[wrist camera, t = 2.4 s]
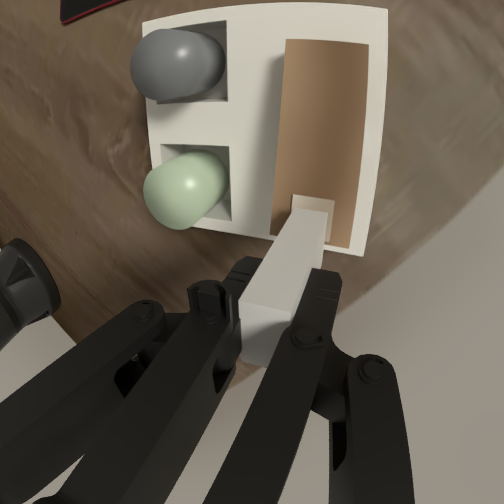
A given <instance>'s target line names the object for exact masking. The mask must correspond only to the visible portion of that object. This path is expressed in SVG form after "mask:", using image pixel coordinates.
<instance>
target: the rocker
mask: <svg viewBox="0 0 504 504" xmlns="http://www.w3.org/2000/svg"><path fill="white" fill-rule="evenodd" d="M368 62H369V44H361V43H352V42H342V41H330V40H313V39H286V43H285V57H284V71H283V84H282V97H281V109H280V122H279V134H278V146H277V158H276V169H275V180H274V192H273V202H272V213H271V224H270V235H274V236H278V234H279V233H280V231H281V229H282V228H283V226H284V224H285V223H286V221H287V219H288V218H289V216H290V214H291V213H292V211H293V209H294V208H302V209H308V210H314V211H321V212H327V213H328V216H327V225H326V234H325V242H324V244H325V245H330V246H336V247H341V248H347V249H349V245H350V239H351V233H352V227H353V221H354V214H355V207H356V200H357V193H358V185H359V177H360V169H361V160H362V151H363V141H364V130H365V117H366V103H367V86H368Z"/></svg>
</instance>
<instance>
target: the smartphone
mask: <svg viewBox="0 0 504 504" xmlns="http://www.w3.org/2000/svg"><path fill="white" fill-rule="evenodd" d="M119 1H122V0H60V21H61V22H62V23H68V22H70V21H72V20H74V19H77V18H79V17H81V16H83V15H86V14H88V13H90V12H93V11H95V10H98V9H100V8H103V7H105V6H108V5H111V4H113V3H116V2H119Z"/></svg>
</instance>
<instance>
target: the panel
mask: <svg viewBox="0 0 504 504" xmlns="http://www.w3.org/2000/svg"><path fill="white" fill-rule="evenodd" d="M142 27H143V37H144V36H146V35H147V34H149V33H150V32H152V31H154V30H158V29H174V30H182V31H189V32H196V33H203V34H207V35H209V36H211V37H213V38H215V39H216V40H217V41H218V42H219V43H220V45H221V46H222V48H223V50H224V53H225V58H226V65H225V70H224V73H223V76H222V78H221V79H220V81H219V82H218V83H217V84H216V85H215V86H214V87H213V88H212V89H210V90H208V91H206V92H204V93H200V94H194V95H189V96H183V97H178V98H173V99H168V100H163V101H156V100H152V99H149V98H147V97H146V110H147V122H148V132H149V142H150V152H151V161H152V169H154V168H156V167H158V166H160V165H161V164H163V163H165V162H167V161H169V160H171V159H173V158H175V157H177V156H179V155H181V154H183V153H185V152H187V151H189V150H192V149H205V150H208V151H210V152H212V153H214V154H215V155H217V156H218V157H219V158H220V159H221V161H222V162H223V163H224V165H225V167H226V169H227V172H228V176H229V187H228V190H227V193H226V195H225V196H224V197H223V199H222V200H220V201H219V202H218V203H217V204H216V205H215V206H214V207H213V208H211V209H210V210H209V211H208V212H207V213H206V214H205V215H204V216H203V217H201V218H200V219H199V220H198V221H197V222H196V223H195V224H194V225H193V226H192V227H198V228H204V229H210V230H216V231H222V232H228V233H234V234H240V235H245V236H251V237H257V238H263V239H268V240H274V241H275V239H276V238H277V236H274V235H270V224H271V213H272V202H273V192H274V180H275V169H276V158H277V146H278V134H279V122H280V109H281V97H282V84H283V71H284V57H285V43H286V39H313V40H330V41H342V42H352V43H361V44H369V62H368V86H367V103H366V117H365V130H364V141H363V151H362V160H361V169H360V177H359V185H358V193H357V200H356V207H355V214H354V221H353V227H352V233H351V239H350V245H349V249H347V248H341V247H336V246H330V245H325V244H324V249H325V250H330V251H335V252H341V253H346V254H352V255H357V256H363V254H364V250H365V245H366V239H367V234H368V229H369V223H370V218H371V212H372V206H373V200H374V194H375V187H376V180H377V173H378V166H379V158H380V150H381V141H382V131H383V121H384V109H385V96H386V80H387V55H388V9H383V8H376V7H368V6H359V5H348V4H334V3H305V2H291V3H263V4H249V5H238V6H228V7H220V8H213V9H206V10H200V11H194V12H188V13H183V14H178V15H173V16H168V17H164V18H159V19H155V20H151V21H147V22H143V23H142Z"/></svg>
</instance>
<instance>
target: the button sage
mask: <svg viewBox="0 0 504 504" xmlns="http://www.w3.org/2000/svg"><path fill="white" fill-rule="evenodd" d="M228 187H229V176H228V172H227V169H226V167H225V165H224V163H223V162H222V161H221V159H220V158H219V157H218V156H217V155H215V154H214V153H212V152H210V151H208V150H205V149H192V150H189V151H187V152H185V153H183V154H181V155H179V156H177V157H175V158H173V159H171V160H169V161H167V162H165V163H163V164H161V165H160V166H158V167H156V168H154V169H153V170H151V171H150V172H149V174H148V175H147V177H146V179H145V182H144V187H143V193H144V199H145V202H146V205H147V207H148V209H149V211H150V212H151V214H152V215H153V216H154V217H155V219H156V220H158V221H159V222H160V223H161V224H163V225H164V226H166V227H169V228H171V229H176V230H183V229H187V228H189V227H191V226H193V225H194V224H195V223H196V222H197V221H198V220H199V219H200V218H201V217H203V216H204V215H205V214H206V213H207V212H208V211H209V210H210V209H211V208H213V207H214V206H215V205H216V204H217V203H218V202H219V201H220V200H222V199H223V197H224V196H225V195H226V193H227V190H228Z"/></svg>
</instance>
